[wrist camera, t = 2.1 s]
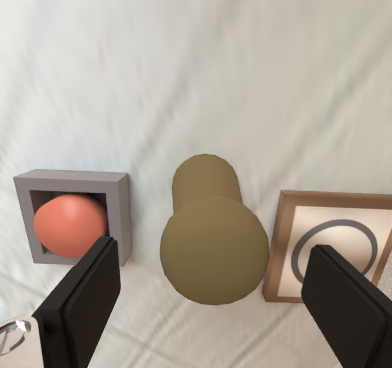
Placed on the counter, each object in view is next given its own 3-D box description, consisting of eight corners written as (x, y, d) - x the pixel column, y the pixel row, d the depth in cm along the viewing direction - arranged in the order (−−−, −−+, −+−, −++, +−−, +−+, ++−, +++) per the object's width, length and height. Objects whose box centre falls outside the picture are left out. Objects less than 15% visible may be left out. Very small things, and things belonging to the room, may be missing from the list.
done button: (43, 190, 17) (27, 198, 16) (106, 193, 17) (96, 201, 16) (54, 243, 19) (40, 256, 17) (111, 245, 19) (103, 258, 17)
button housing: (36, 169, 18) (13, 177, 16) (127, 173, 18) (117, 181, 16) (52, 246, 21) (33, 263, 18) (132, 249, 21) (123, 266, 19)
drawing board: (281, 190, 19) (288, 196, 18) (398, 194, 19) (416, 201, 18) (262, 292, 23) (266, 305, 21) (360, 295, 23) (372, 308, 22)
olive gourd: (198, 227, 20) (202, 347, 10) (158, 181, 19) (112, 263, 8) (251, 192, 19) (317, 284, 9) (212, 139, 18) (237, 175, 7)
